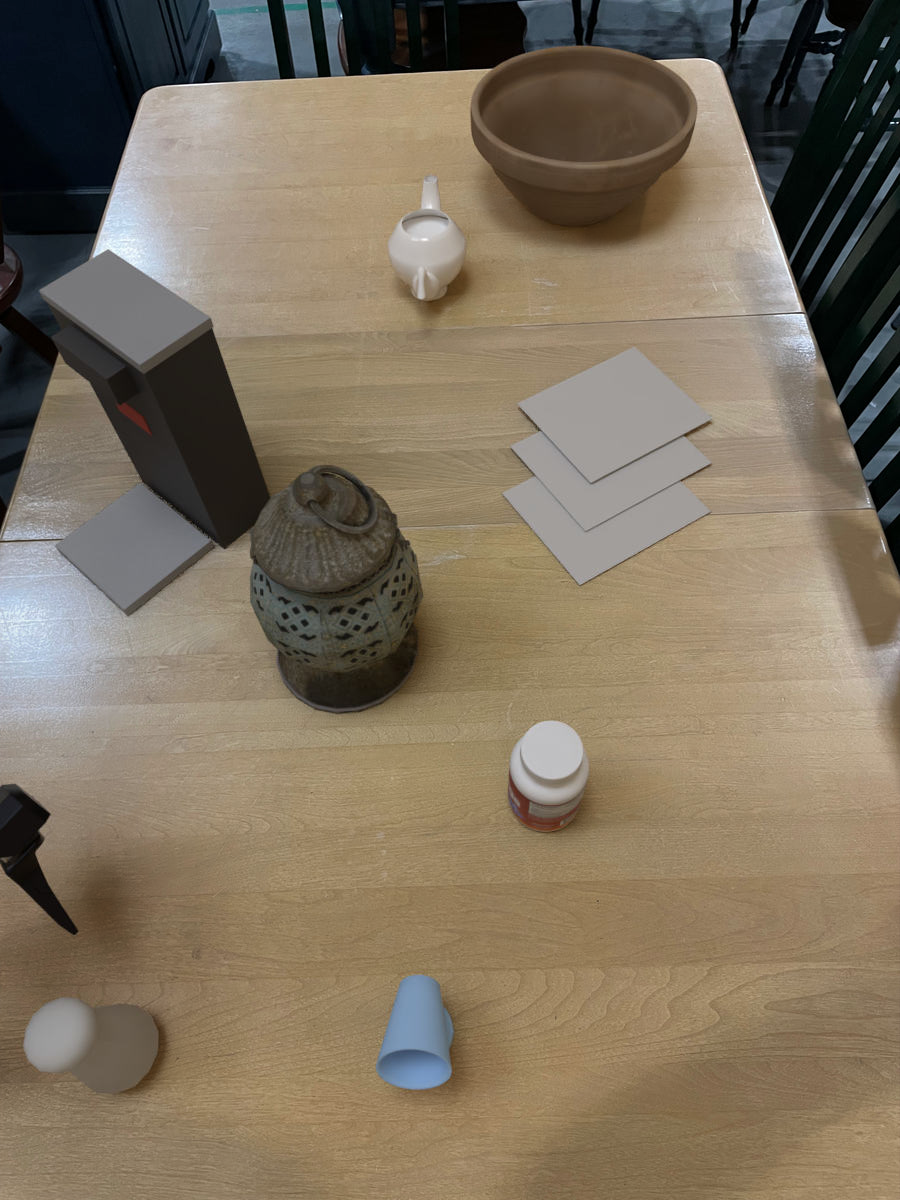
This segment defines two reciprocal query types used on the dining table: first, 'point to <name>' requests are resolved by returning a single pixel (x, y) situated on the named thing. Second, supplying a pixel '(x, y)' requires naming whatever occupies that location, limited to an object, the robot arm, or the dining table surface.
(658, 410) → the paper stack
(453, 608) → the dining table surface
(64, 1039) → the salt shaker
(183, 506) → the coffee maker
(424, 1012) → the blue mug
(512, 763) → the pill bottle
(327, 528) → the lantern
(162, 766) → the dining table surface
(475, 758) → the dining table surface
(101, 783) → the dining table surface
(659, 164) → the flower pot
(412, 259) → the teapot
